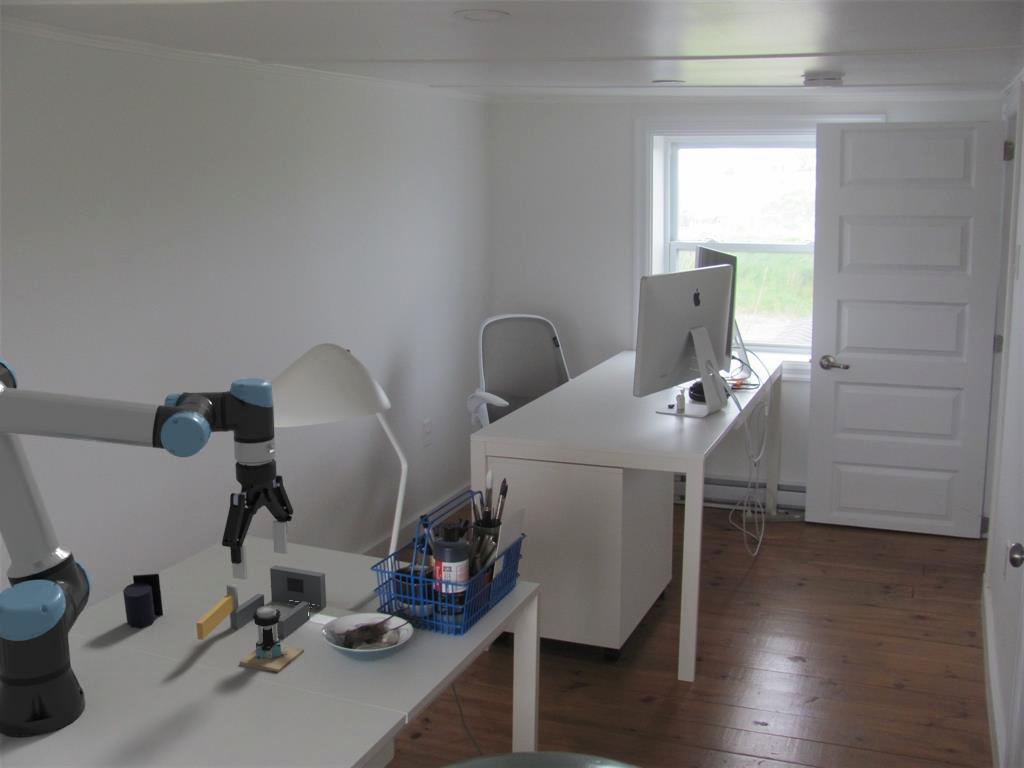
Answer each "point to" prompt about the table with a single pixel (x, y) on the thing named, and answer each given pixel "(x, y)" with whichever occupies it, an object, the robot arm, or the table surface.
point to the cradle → (286, 599)
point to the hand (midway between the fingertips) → (261, 565)
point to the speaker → (143, 600)
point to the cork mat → (272, 660)
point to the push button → (268, 632)
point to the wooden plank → (218, 612)
